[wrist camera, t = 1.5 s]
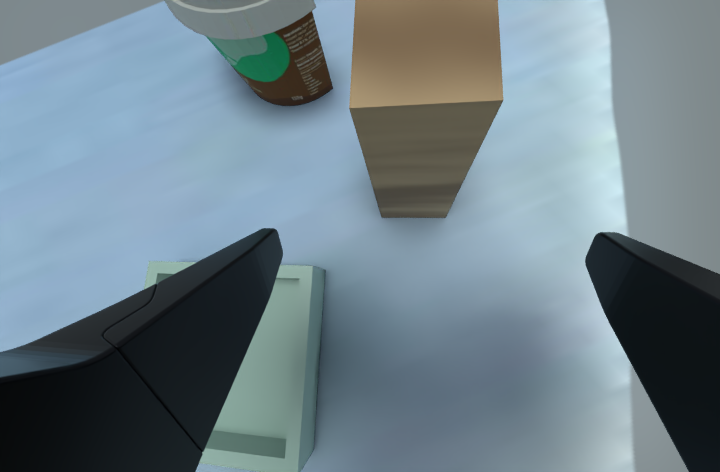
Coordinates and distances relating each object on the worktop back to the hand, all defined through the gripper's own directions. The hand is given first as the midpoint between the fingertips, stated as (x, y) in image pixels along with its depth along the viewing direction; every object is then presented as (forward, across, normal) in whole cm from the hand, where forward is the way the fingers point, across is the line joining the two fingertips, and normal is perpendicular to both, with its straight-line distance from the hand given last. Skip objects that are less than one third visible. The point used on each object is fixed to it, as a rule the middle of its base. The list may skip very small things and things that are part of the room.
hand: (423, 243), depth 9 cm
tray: (+5, +12, +13) cm, 18 cm away
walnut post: (+13, 0, +4) cm, 14 cm away
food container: (+20, +12, -3) cm, 24 cm away
